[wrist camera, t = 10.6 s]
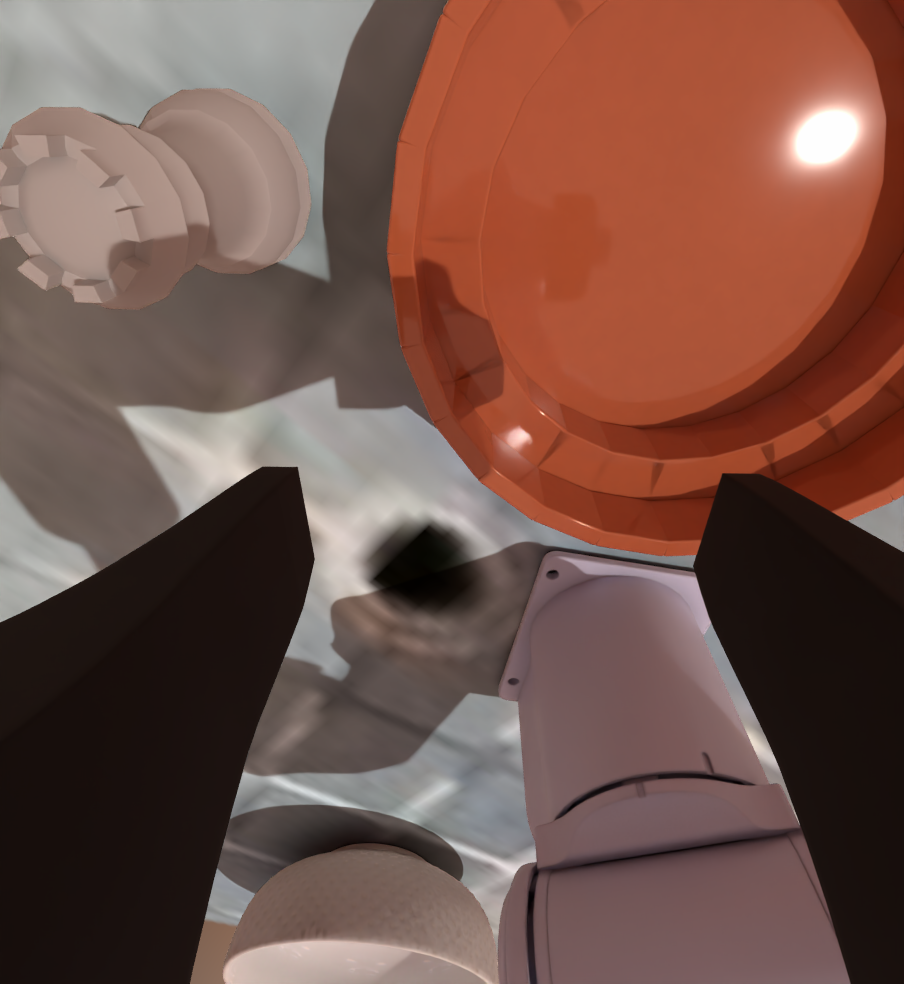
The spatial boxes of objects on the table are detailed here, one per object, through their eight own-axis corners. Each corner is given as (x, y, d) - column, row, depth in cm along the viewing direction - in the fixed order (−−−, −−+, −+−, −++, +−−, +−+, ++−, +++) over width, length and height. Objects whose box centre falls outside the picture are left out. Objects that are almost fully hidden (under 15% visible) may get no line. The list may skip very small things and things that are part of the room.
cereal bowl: (511, 818, 35) (519, 959, 29) (482, 922, 44) (483, 1045, 38) (243, 798, 35) (196, 935, 29) (270, 906, 44) (238, 1027, 38)
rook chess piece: (123, 158, 15) (-145, 180, 9) (236, 45, 14) (17, -32, 7) (238, 296, 17) (91, 399, 11) (347, 210, 16) (255, 268, 9)
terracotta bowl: (803, 503, 21) (881, 592, 17) (383, 433, 20) (360, 509, 16) (1186, -89, 12) (1539, -197, 8) (464, -273, 11) (459, -502, 7)
